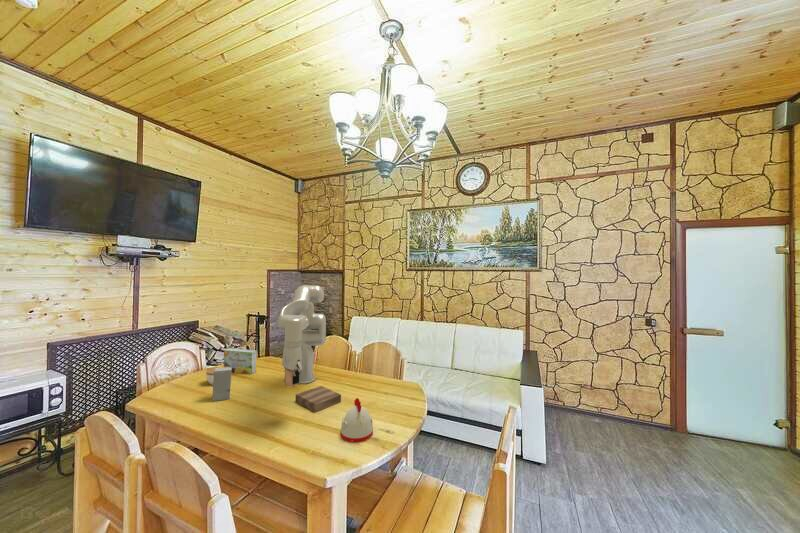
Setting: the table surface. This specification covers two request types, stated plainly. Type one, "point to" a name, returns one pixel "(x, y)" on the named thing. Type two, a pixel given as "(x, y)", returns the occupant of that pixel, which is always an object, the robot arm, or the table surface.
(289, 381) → the terracotta cylinder
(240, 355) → the snack box
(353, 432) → the kitchen timer
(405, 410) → the table surface
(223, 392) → the skincare box
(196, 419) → the table surface
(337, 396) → the walnut platform
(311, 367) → the robot arm
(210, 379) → the lidded jar
